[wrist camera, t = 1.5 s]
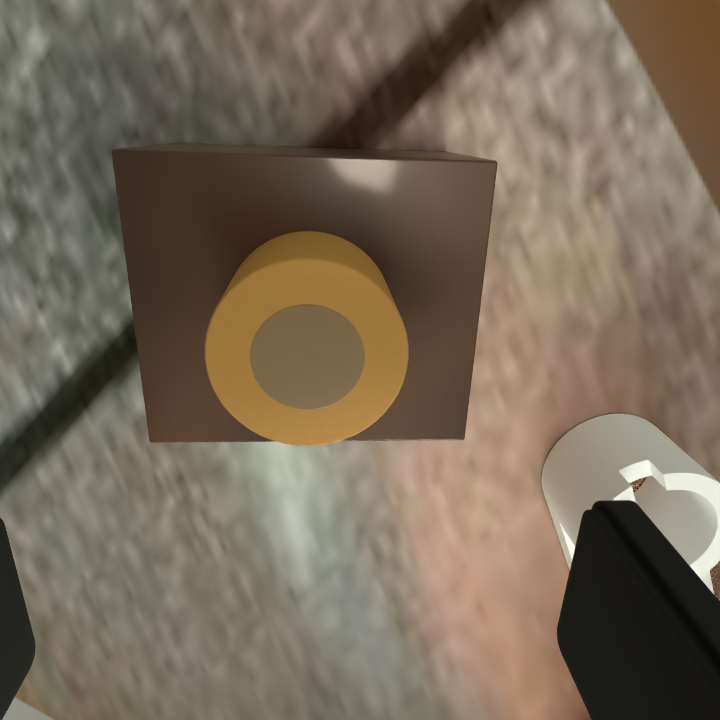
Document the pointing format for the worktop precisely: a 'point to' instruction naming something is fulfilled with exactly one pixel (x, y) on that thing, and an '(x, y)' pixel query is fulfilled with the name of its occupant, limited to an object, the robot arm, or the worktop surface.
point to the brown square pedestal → (295, 214)
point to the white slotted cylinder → (612, 482)
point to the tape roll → (307, 341)
